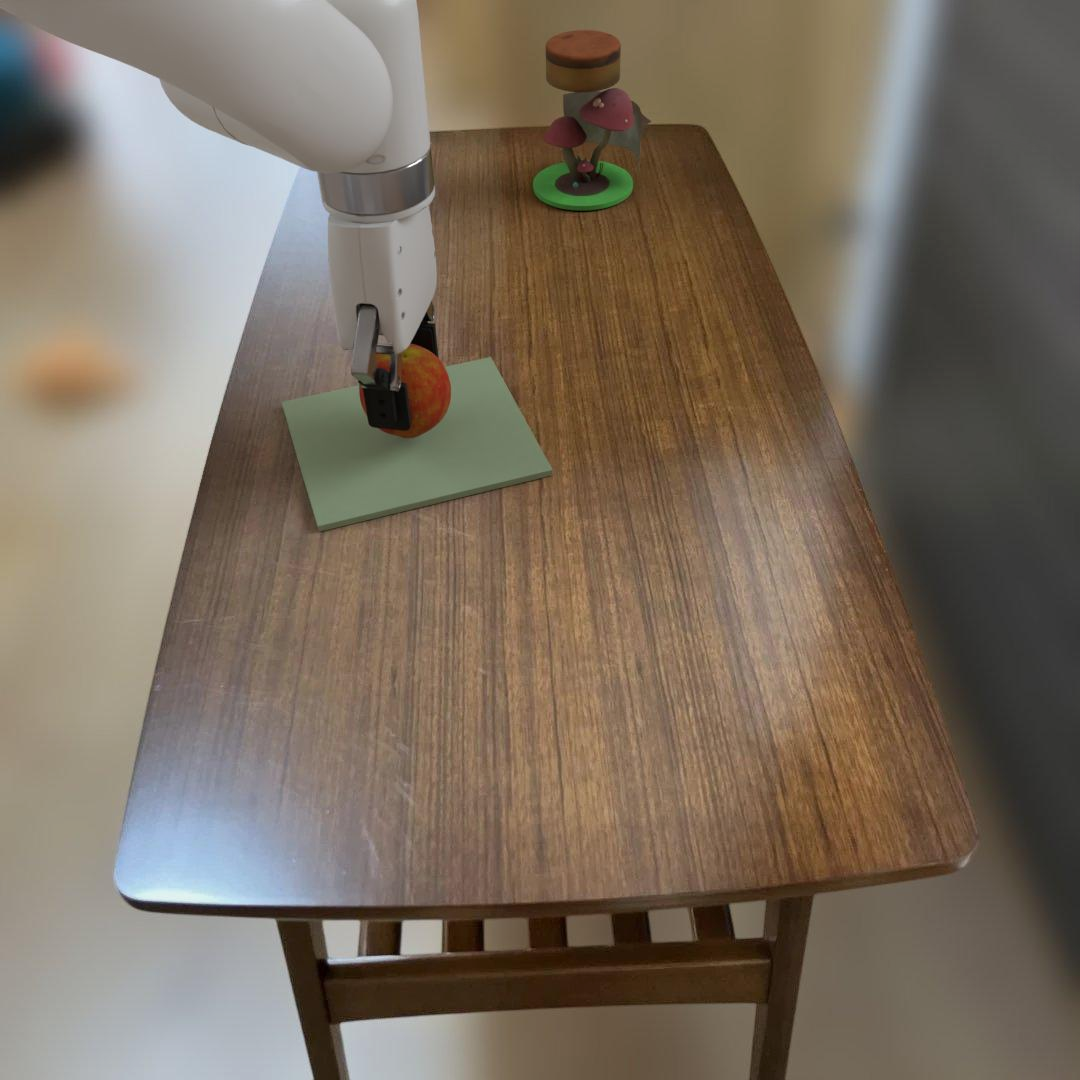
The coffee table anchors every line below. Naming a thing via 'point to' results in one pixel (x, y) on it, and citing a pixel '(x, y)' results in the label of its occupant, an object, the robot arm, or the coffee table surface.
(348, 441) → the mat
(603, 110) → the mushroom figurine
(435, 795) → the coffee table surface
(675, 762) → the coffee table surface
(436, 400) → the fruit
